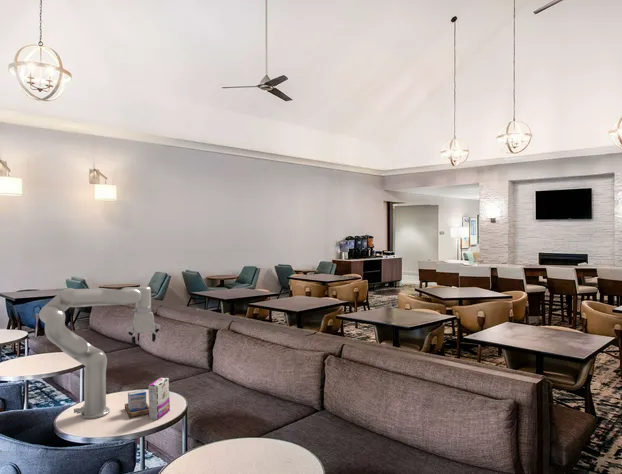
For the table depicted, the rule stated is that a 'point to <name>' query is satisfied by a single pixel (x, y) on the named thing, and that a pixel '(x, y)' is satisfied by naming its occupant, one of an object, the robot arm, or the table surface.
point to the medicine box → (137, 400)
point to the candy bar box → (159, 398)
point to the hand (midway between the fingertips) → (143, 342)
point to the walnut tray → (137, 412)
